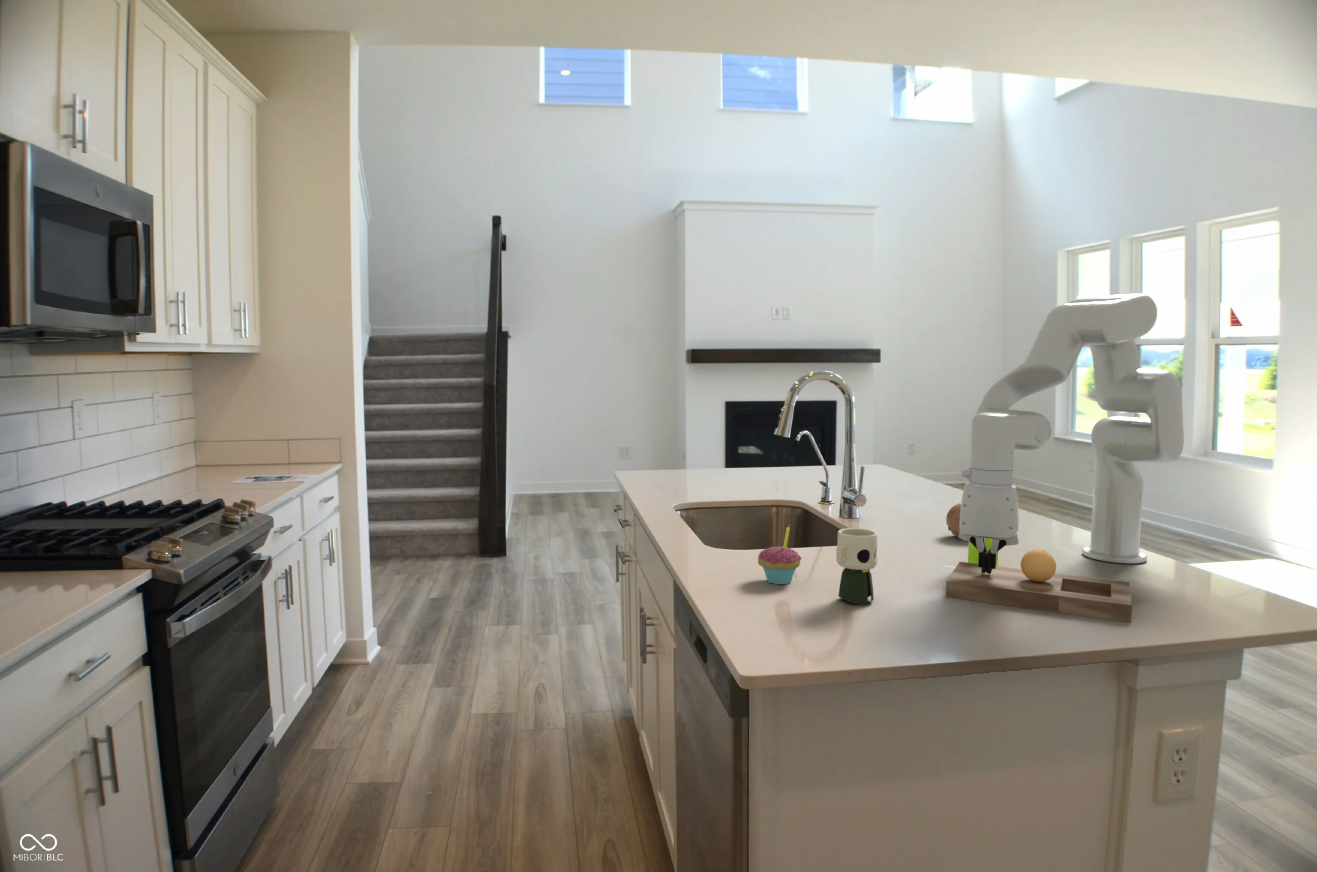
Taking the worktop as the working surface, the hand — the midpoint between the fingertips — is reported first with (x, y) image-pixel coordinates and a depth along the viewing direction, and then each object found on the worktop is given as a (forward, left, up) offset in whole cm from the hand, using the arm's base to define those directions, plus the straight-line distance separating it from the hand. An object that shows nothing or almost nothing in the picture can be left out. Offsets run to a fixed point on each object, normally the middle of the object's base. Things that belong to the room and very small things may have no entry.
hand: (986, 571), depth 152 cm
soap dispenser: (-16, -2, -4) cm, 17 cm away
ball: (0, +9, +2) cm, 9 cm away
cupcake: (+14, -37, -4) cm, 40 cm away
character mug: (+19, -20, -4) cm, 28 cm away
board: (0, +9, -4) cm, 10 cm away
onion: (-45, -10, -4) cm, 46 cm away
